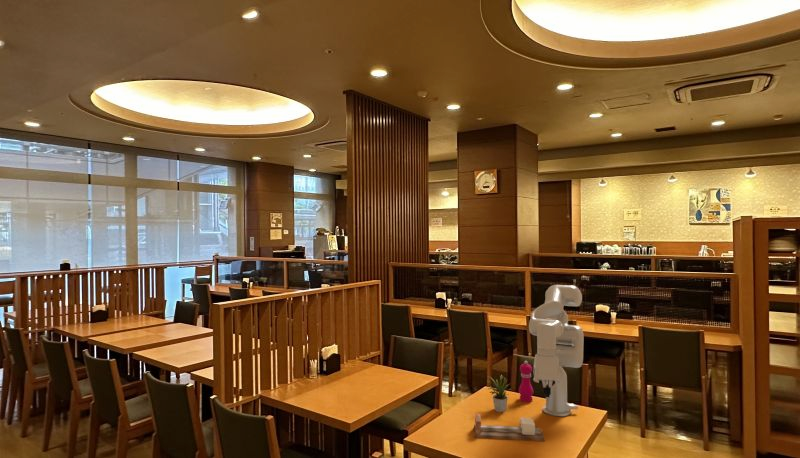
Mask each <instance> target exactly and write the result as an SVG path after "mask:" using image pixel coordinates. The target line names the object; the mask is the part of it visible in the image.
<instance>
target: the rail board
mask: <svg viewBox="0 0 800 458" xmlns="http://www.w3.org/2000/svg"><path fill="white" fill-rule="evenodd" d="M474 415H475V416H474V420H475V421H474V423H475V424H473V431H474V438H477V439H478V438H479V439H481V438H482V439H495V440H496V439H497V440H500V439H501V440H517V441H535V442H537V441H538V442H545V436H544V434H543V432H542V429H541V428H540V427H535V435H525V434H522V428H521V427H520V426H511V425H510V426H509V425H508V426H507V425H490V424H489V425H488V424H482V421H481V420H482V418H481V414H479V413H478V414H477V413H475V414H474Z"/></svg>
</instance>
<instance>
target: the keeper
mask: <svg viewBox="0 0 800 458" xmlns="http://www.w3.org/2000/svg"><path fill="white" fill-rule="evenodd" d="M519 427H521V428H522V434H525V435H535V428H536V424H535V421H534V419H533V417H523V416H522V417H519Z"/></svg>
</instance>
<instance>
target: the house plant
mask: <svg viewBox="0 0 800 458" xmlns="http://www.w3.org/2000/svg"><path fill="white" fill-rule="evenodd" d="M487 377H488V378H489V379H491V380H492V383H491V381H489V380H488V383H491V385H488V386H489V387H488V390H490V391H489V394H491V395H493V394H494V395H493V396H492V400H493V401H492V402H493V408H494V410H495V412H498V413H504V412H506V411H507V404H508V400H509V399H508V396H509V393H508V394H507V391H509V390H511V388H509V389H507V388H508V387H509V386H510V383H509V384H507V383H508V382H507V381H508V378H507V379H506V378H504V376H503V375H502V374H501V375H500V377H499V380H498V379H496V378H495V380H494V379H493V378H492V377H491V376H489V375H487ZM503 378H504V379H503ZM502 381H503V382H502ZM492 386H493V387H492ZM506 390H507V391H506Z"/></svg>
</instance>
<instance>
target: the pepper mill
mask: <svg viewBox="0 0 800 458" xmlns="http://www.w3.org/2000/svg"><path fill="white" fill-rule="evenodd" d="M519 371H520V377H521V383H520V385H519V387H518V393H519V400H520V401H521V402H523V403H532V401H533V396H534V388H533V386H532V384H531V377H532V374H531V373H532V372H533V367H532V366H531V364H529V363H528V361H527V360H524V363H522V364H521V365H520V366H519Z"/></svg>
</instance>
